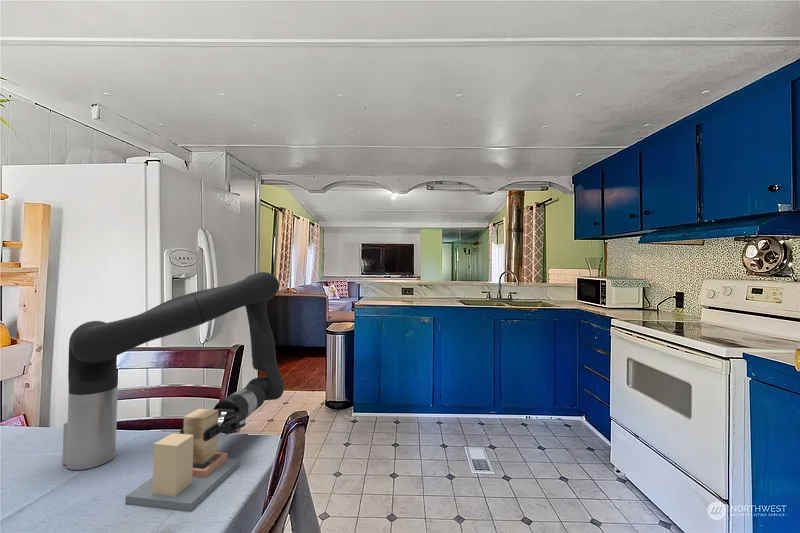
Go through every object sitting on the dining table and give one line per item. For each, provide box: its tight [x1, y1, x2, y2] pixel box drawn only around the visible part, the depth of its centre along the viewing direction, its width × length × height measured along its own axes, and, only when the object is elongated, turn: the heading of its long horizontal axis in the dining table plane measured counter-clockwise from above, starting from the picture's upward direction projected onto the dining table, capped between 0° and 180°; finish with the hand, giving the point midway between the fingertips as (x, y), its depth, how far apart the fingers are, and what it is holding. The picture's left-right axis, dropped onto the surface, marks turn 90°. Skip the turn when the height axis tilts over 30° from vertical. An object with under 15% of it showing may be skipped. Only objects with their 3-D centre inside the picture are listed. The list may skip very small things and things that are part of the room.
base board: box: [125, 432, 241, 512], centre depth 81 cm, size 14×17×12 cm
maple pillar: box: [183, 408, 219, 464], centre depth 85 cm, size 5×5×10 cm
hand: (193, 435), depth 83 cm, fingers closed on maple pillar, 5 cm apart
